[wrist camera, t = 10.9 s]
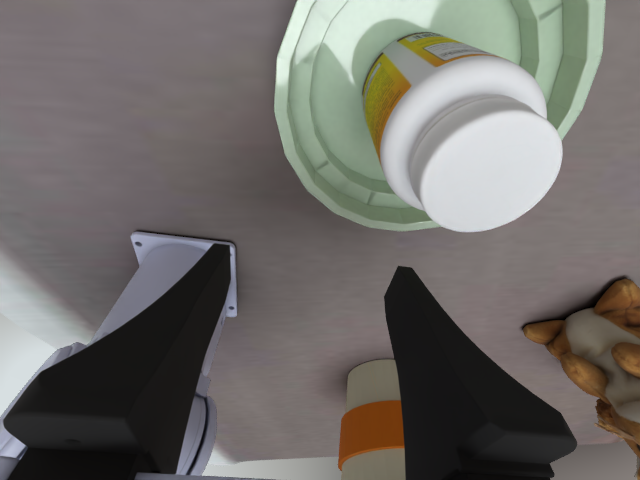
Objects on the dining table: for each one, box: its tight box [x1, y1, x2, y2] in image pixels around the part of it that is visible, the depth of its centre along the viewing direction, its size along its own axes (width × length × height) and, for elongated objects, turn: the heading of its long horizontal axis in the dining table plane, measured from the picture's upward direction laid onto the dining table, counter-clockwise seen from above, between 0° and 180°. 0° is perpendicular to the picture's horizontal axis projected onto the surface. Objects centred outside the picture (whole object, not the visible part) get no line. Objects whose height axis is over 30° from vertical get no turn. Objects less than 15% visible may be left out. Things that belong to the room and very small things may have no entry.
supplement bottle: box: [362, 32, 562, 232], centre depth 13 cm, size 6×6×10 cm
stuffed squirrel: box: [523, 279, 640, 480], centre depth 27 cm, size 10×14×13 cm
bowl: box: [274, 0, 606, 232], centre depth 16 cm, size 14×14×4 cm
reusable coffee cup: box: [338, 359, 406, 480], centre depth 33 cm, size 13×13×15 cm
